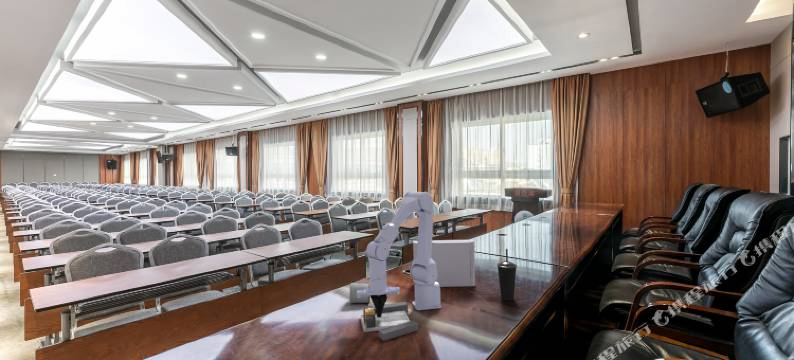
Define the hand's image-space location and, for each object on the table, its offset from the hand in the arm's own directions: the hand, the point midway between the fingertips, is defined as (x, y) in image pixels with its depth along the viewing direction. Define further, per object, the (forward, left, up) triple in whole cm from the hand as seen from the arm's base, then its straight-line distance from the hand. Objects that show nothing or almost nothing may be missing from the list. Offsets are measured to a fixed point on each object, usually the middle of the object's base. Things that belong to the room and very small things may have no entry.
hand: (379, 316), depth 121 cm
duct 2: (-5, +9, -3) cm, 11 cm away
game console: (-34, -33, -3) cm, 48 cm away
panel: (-2, 0, -2) cm, 3 cm away
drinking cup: (-53, -10, -3) cm, 54 cm away
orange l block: (+3, 0, -1) cm, 3 cm away
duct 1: (-5, -8, -3) cm, 10 cm away
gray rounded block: (+5, -23, -3) cm, 23 cm away
